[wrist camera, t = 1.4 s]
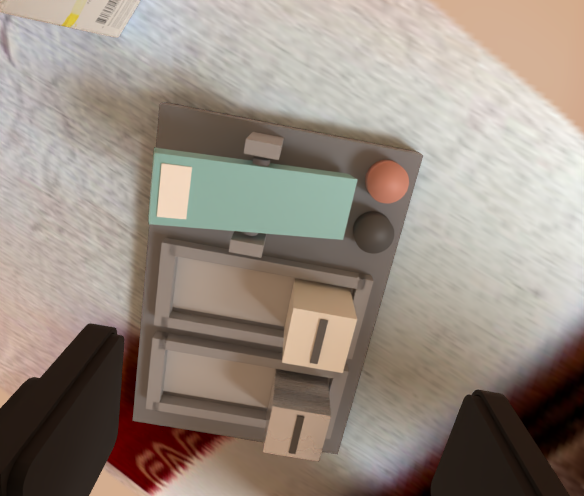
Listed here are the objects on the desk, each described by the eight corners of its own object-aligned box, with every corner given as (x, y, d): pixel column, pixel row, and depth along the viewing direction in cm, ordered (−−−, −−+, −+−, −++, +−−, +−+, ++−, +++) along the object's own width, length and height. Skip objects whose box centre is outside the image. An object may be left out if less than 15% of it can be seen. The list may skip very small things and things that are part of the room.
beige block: (327, 375, 35) (331, 417, 31) (316, 417, 36) (318, 462, 32) (275, 366, 35) (272, 407, 30) (267, 409, 36) (262, 453, 32)
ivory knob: (349, 288, 32) (357, 320, 28) (337, 336, 34) (342, 373, 29) (294, 278, 32) (293, 308, 28) (284, 327, 34) (281, 363, 29)
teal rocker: (348, 169, 29) (359, 175, 28) (333, 235, 31) (342, 244, 29) (154, 142, 25) (155, 147, 24) (147, 220, 27) (148, 229, 25)
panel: (417, 151, 31) (441, 165, 26) (336, 440, 39) (341, 495, 34) (166, 102, 30) (138, 106, 25) (138, 408, 38) (113, 459, 33)
